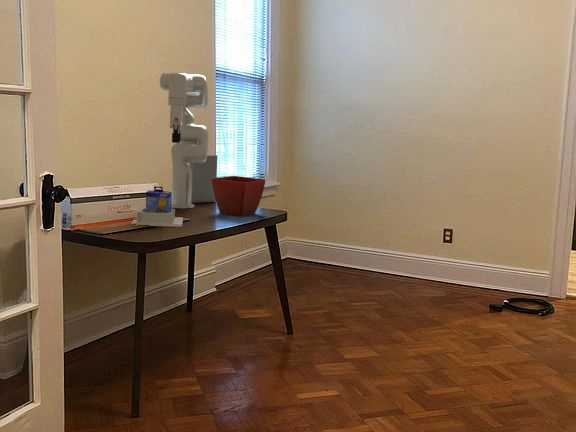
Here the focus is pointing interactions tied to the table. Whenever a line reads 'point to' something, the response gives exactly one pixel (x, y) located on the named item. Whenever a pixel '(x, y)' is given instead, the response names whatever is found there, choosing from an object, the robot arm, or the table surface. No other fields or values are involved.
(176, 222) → the end holder
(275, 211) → the table surface
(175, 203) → the robot arm
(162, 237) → the table surface
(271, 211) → the table surface
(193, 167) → the grey slab
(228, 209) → the plant pot
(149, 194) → the ink cartridge box
